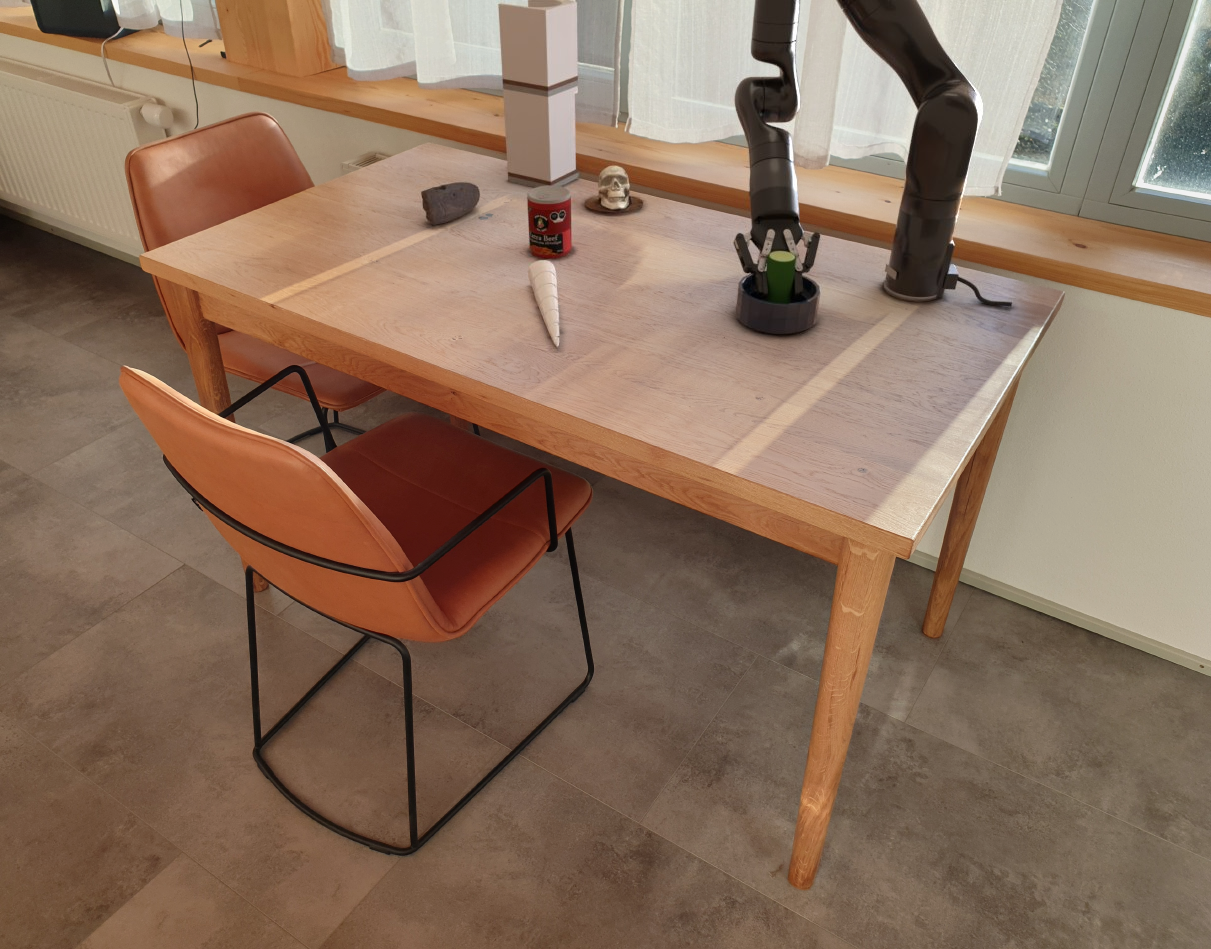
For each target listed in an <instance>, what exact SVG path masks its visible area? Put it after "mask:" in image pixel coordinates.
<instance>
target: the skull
mask: <svg viewBox="0 0 1211 949" xmlns="http://www.w3.org/2000/svg"><path fill="white" fill-rule="evenodd" d="M629 181H630V180H629V176H628V173H627V172H626V170H625V169H624V168H623V167H621V166H619V165H609V166H607V167H605V168H603V169H602V171H601V172H600V173H599V175H598V180H597V190H598V195H596V196H592V197H590V198H588V199H586V200H585V201H584V206H585V207H587V208H588V209H591V210H595V211H600V212H608V213H610V212H612V213H622V212H628V211H634V210H637V209H641V208H642V207H643V206H644V201H643V199H641V198H639V197H635V196H633V195H630V189H631V184H630V182H629Z"/></svg>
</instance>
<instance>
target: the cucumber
mask: <svg viewBox="0 0 1211 949" xmlns="http://www.w3.org/2000/svg"><path fill="white" fill-rule="evenodd" d="M795 265H796V256H795V255H794V254H792V253H790V252H786V251H774V252H771V253H769V254H768V259H767V265H766V269H765V271H766V273H767V285H768V296H767V298H766V299H763V300H762V301H767V302H772V303H784V304H789V303H790V301H791V294H792V286H793V279H794V272H795Z"/></svg>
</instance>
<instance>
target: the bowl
mask: <svg viewBox="0 0 1211 949" xmlns="http://www.w3.org/2000/svg"><path fill="white" fill-rule="evenodd" d="M765 272H766V270H765ZM802 281H803V290H802V293H801V294H800V295H799V296H798V298H797V299H792V294H791V301H790V303H789V304H784V303H772V302H767V301H762V300H763V299H761V295H758V294H757V291H756V277H755V275H753V274H751V273H748V274H747V275H745V276H743V277H741V279H740V280H739V282H738V284H737V295H736V305H735V316H736V318H737V319H738V320H739V322H740V323H742V324H743V325H745V326H746V327H748V328H750V329H753V330H754V331H758V332H760V333H763V334H764V333H765V334H771V335H790V334H795V333H799V332H802V331H806V330H808V329H809V328H811V327H813V326H814V325H815V323H816V322H817V318H818V313H819V306H820V299H821V293H822V290H821V286H820V285H819V284H818V283H817V282H816V281H815V280H814V279H812V278H810V277H808V276H806V275H803V274H802Z"/></svg>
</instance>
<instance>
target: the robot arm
mask: <svg viewBox="0 0 1211 949" xmlns="http://www.w3.org/2000/svg"><path fill="white" fill-rule="evenodd" d="M835 1H836V3H837V4H838V5H837V6H839V8H840V10H841V11H842V13H843V14H844V16H845V17H846V19H847V20H848V22H849V23H850V25H851V27H852V28H853V30H854V31H855V32H856V34H857V35H858V36H859V38H860V39H861V40H862V42H863V43H864V44H865V45H866V46H867V47H868V48H869V49H870V50H871V51H872V52H873V53H874V54H875V55H876V56H878V57H879V58H880V59H881V60H882V61H884V62H885V64H886V65H887V66H889V67H890V69H892V70H893V71H894V72H895V74H896V75H897V76H898V78H899V79H900V80H901V83H902V84H903V86H904V87H905V89H906V90H907V93H908V94H909V96H910V97H911V98H910V99H912V102H913V103H914V105H915V108H916V110H917V112H916V115H915V117H914V118H915V119H914V121H913V122H914V123H913V128H912V132H911V137H910V142H909V149H908V156H907V160H906V165H905V171H904V172H905V173H904V175H905V176H904V183H903V188H902V194H901V199H900V204H899V209H898V215H897V219H896V224H895V229H894V235H893V240H892V243H891V244H892V245H891V250H890V253H889V254H890V255H889V260H888V264H887V263H886V264H885V268H884V272H885V273H886V274H885V280H884V283H883V289H884V291H885V292H886V293H887V294H889V296H892V297H894V298H897V299H900V300H903V301H904V300H905V301H909V302H929V301H934V300H942V299H943V297H944V292H945V290H956V288H957V285H958V284H957V283H958V282H959V283H961V284H963V285H965V286H967V287H969V288H970V289H971V290H972V291H973V292H974V295H975V297H976V299H977V300H978V301H979V302H981V303H983V304H985V305H990V306H996V307H997V306H999V307H1012V306H1013V302H1012V301H1003V300H1001V301H997V300H990V299H987V298H985V297H983V296H982V295H981V293H980V291H979V289H978V287H977V286H976V285H975V284H974V283H972V282H971V281H969V280H968V279H965V278H963V277H961V276H960V274H959V271H958V270H957V267H956V265H955V264H954V263H952V260H953V255H954V250H955V243H954V240H953V239H954V234H955V231H956V225H957V221H958V218H959V213H960V209H961V204H962V199H963V196H964V192H965V187H966V184H967V178H968V174H969V168H970V164H971V160H972V156H973V151H974V147H975V143H976V140H977V134H978V130H979V127H980V123H981V121H982V117H983V112H984V111H983V107H984V106H983V102H982V98H981V96H980V93H979V92H978V90H977V89H976V88H975V86H974V85H973V84H972V83H971V82H970V81H969V79H968V77H966V75H965V74H964V73H963V72H962V71H961V69H960V68H959V67H958V65H957V64H956V63H955V62H954V61H953V59H952V58H951V57H950V55H949V54H948V53H947V51H946V50H945V49H944V47H943V46H942V44H941V43H940V41H939V38H938V37H937V36H936V33H935V31H934V30H933V28H932V25H931V23H930V22H929V19H928V18H927V15H926V13H925V11H924V10H923V9H922V7H921V5H920V3H919V1H918V0H835ZM753 7H754V8H753V9H754V10H753V17H752V29H751V39H750V54H751V57H752V59H754V60H756V61H758V62H761V63H763V64H768V65H772V66H776V67H777V68H778V70H779V76H747V77H745V78H743V79H742V80H741V81H740V82H739V84H738V85H737V87H736V89H735V93H734V107H735V111H736V112H735V113H736V115H737V118H738V121H739V123H740V125H741V128H742V131H743V134H744V137H745V139H746V144H747V147H748V158H749V161H748V162H749V186H748V187H749V190H748V197H749V202H750V216H751V218H750V220H751V228H750V231H749V232H747V233H741V232H739V233H737V234H736V235H735V237H734V240H733V246H734V249H735V252H736V254H737V257H738V261H739V262H740V265H741V268H742V270H743V272H744V274H753V275H755V277H756V291H757V294H758V295H761V299H766V298H767V296H768V285H767V273H766V272H765V271H766V267H767V259H768V254H769V253H771V252H774V251H786V252H790V253H792V254H794V255H795V256H796V265H795V272H794V279H793V286H792V299H797V298H798V296H799V295H800V294H801V293H802V290H803V281H802V275H803V274H808V273H810V271H811V269H812V268H813V267H814V265H815V262H816V256H817V252H818V248H819V244H820V239H821V234H820V232H817V231H816V232H814V233H809V232H806V231H804V229H803V228H802V226H801V223H800V207H799V193H798V179H797V178H798V177H797V173H796V169H795V159H794V158H795V157H794V156H795V155H794V143H793V137H792V135H791V133H790V132H789V131H788V130H786V129H784V128H782V127H777V126H774V125H771V124H775V123H776V124H785V123H790V122H791V121H793V120H794V119H795V118H796V117H797V115H798V113H799V111H800V108H801V104H802V96H801V89H800V82H799V77H798V69H797V52H796V51H797V39H798V32H799V31H798V30H799V22H800V12H801V0H754V6H753ZM800 241H802V242H803V246H804V248H806V252H805V256H804V260H803V262H802V261H801V258H800V252H799V249H798V247H797V246H798V244H799V243H800ZM750 242H751V243H752V244H753V246H755V247H756V248H757V250H758V251H759V254H758V257H757V262H756V263H755V262H754V259H753V258H752V255H751V252H750V249H749V246H750Z"/></svg>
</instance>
